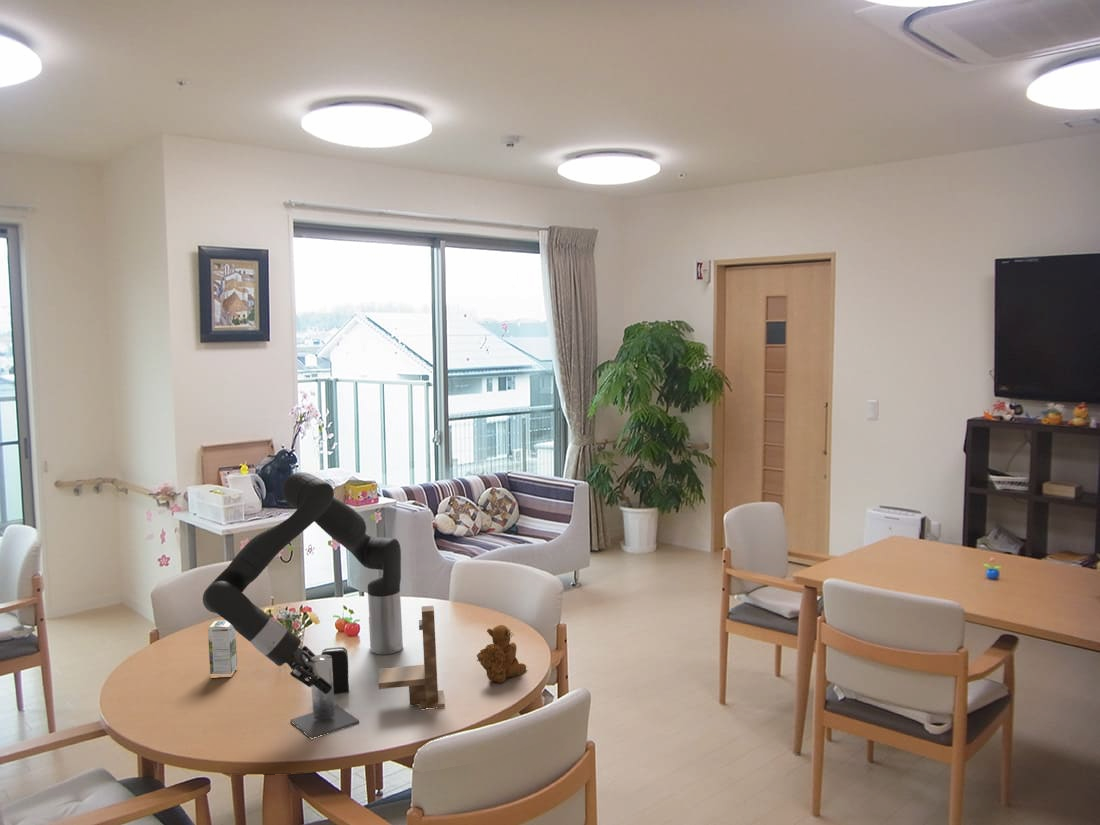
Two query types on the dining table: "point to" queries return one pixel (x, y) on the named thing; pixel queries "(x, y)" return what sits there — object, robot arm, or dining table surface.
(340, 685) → the battery charger
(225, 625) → the syrup box
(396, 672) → the walnut standard
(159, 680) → the dining table surface
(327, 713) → the steel cylinder
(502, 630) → the stuffed squirrel
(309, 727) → the felt pad
